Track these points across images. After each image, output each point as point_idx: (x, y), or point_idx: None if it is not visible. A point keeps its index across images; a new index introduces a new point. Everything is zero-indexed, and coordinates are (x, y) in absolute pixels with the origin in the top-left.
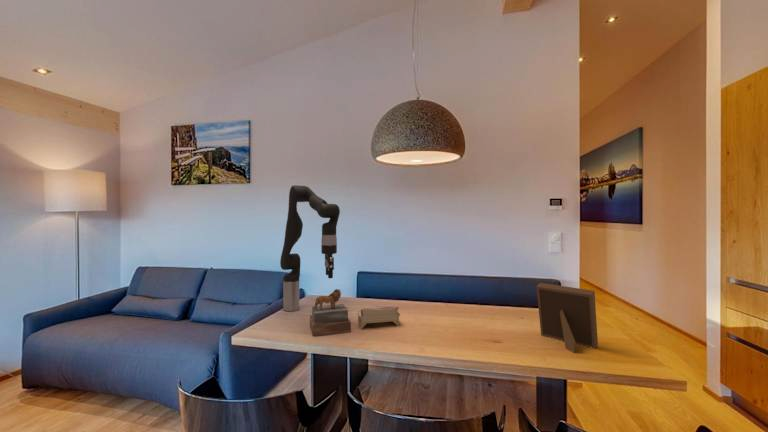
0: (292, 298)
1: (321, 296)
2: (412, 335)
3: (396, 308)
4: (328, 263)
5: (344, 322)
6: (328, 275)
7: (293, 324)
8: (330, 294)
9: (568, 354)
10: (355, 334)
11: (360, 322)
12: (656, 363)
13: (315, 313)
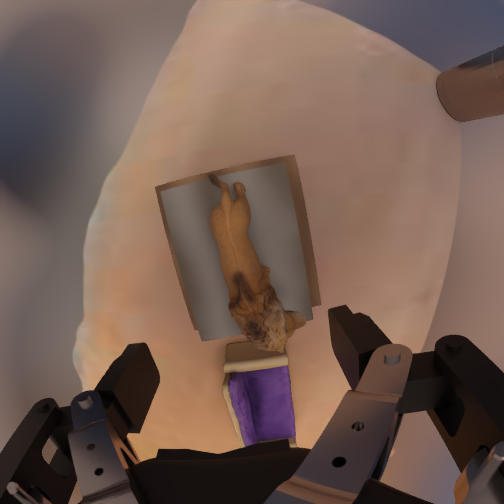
0: (466, 86)
1: (217, 228)
2: (178, 438)
3: None
4: (19, 453)
5: (187, 308)
6: (120, 358)
7: (304, 98)
8: (239, 288)
9: None
10: (180, 326)
11: (236, 353)
12: None
13: (163, 195)
